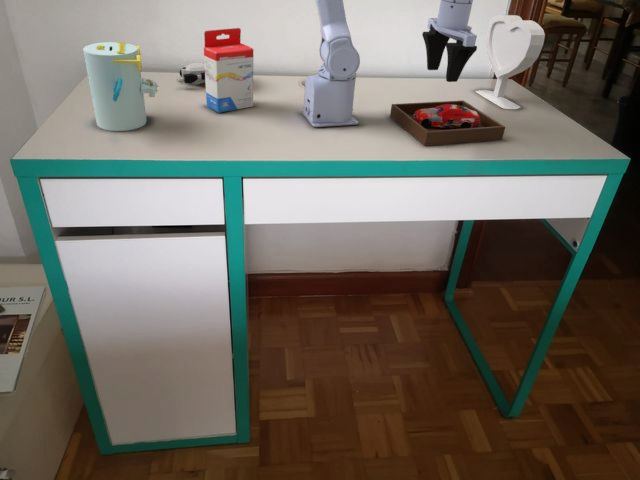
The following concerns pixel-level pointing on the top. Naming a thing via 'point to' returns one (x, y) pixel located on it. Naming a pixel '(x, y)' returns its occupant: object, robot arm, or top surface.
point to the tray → (442, 136)
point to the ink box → (228, 71)
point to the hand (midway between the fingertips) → (441, 75)
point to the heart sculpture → (510, 52)
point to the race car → (447, 117)
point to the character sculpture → (117, 85)
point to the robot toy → (192, 74)
